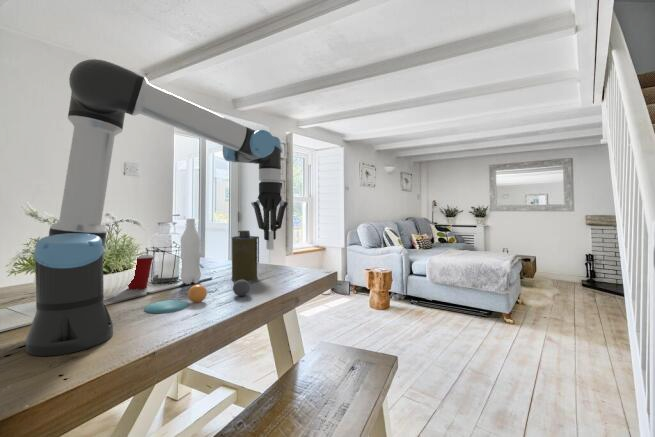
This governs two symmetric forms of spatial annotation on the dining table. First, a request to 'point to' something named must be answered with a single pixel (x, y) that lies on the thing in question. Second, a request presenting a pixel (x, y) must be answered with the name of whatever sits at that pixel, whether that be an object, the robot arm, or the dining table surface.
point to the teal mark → (166, 306)
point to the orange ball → (197, 293)
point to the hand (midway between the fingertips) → (269, 249)
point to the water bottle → (190, 253)
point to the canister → (244, 257)
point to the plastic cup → (141, 272)
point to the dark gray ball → (241, 287)
